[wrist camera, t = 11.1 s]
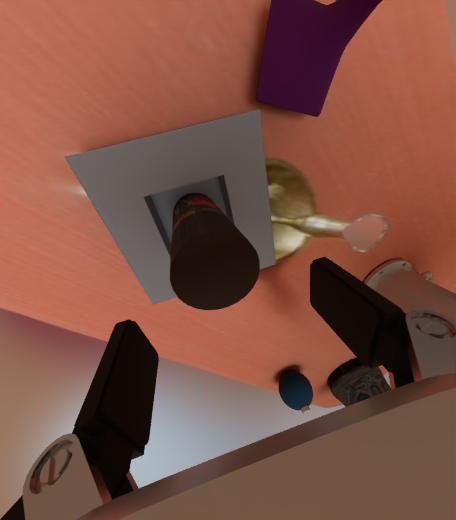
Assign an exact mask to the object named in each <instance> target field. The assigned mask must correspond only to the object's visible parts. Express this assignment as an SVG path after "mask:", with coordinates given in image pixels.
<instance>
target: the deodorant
mask: <svg viewBox="0 0 456 520" xmlns="http://www.w3.org/2000/svg"><path fill="white" fill-rule="evenodd" d="M259 271H260V260H259V257H258V254H257V251H256V250H255V248H254V247H253V246H252V244H251V243H250V242H249V241H248V239H247V238H246V237H245V236H244V235H243V234H242V233H241V232H240V231H239V229H238V228H237V227H236V226H235V225H234V224H233V223H232V222H231V221H230V220H229V218H228V217H227V216H226V215H225V214H224V213H223V212H222V211H221V210H220V208H219V207H218V206H217V205H216V204H215V203H214V202H213V201H212V200H211V199H210V198H209V197H208V196H206V195H204V194H201V193H195V192H194V193H188V194H186V195H184V196H182V197H181V198H180V199H179V200H178V201H177V203H176V204H175V206H174V210H173V223H172V241H171V259H170V283H171V286H172V289H173V291H174V292H175V294H176V295H177V297H178V298H179V299H180V300H182V301H183V302H184V303H186V304H187V305H189V306H192V307H194V308H197V309H203V310H217V309H221V308H225V307H228V306H231V305H233V304H235V303H237V302H238V301H240V300H241V299H242V298H244V297H245V296H246V295H247V294H248V293H249V292H250V291H251V289H252V288H253V287H254V285H255V283H256V281H257V279H258V275H259Z"/></svg>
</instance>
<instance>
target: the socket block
mask: <svg viewBox="0 0 456 520" xmlns="http://www.w3.org/2000/svg"><path fill="white" fill-rule="evenodd" d="M65 159H66V160H67V162H68V164H69V165H70V167H71V169H72V170H73V172H74V174H75V175H76V177H77V179H78V180H79V182H80V184H81V185H82V187H83V189H84V190H85V192H86V194H87V195H88V197H89V199H90V200H91V202H92V204H93V205H94V207H95V209H96V210H97V212H98V214H99V215H100V217H101V219H102V220H103V222H104V224H105V225H106V227H107V229H108V230H109V232H110V234H111V235H112V237H113V239H114V240H115V242H116V244H117V245H118V247H119V249H120V250H121V252H122V254H123V255H124V257H125V259H126V260H127V262H128V264H129V265H130V267H131V269H132V270H133V272H134V274H135V275H136V277H137V279H138V280H139V282H140V284H141V285H142V287H143V289H144V290H145V292H146V294H147V295H148V297H149V299H150V300H151V302H152V304H153V305H154V304H157V303H160V302H163V301H166V300H169V299H172V298H175V297H177V295H176V294H175V292H174V291H173V289H172V286H171V283H170V259H171V241H172V223H173V210H174V206H175V204H176V203H177V201H178V200H179V199H180V198H181V197H182V196H184V195H186V194H188V193H194V192H195V193H201V194H204V195H206V196H208V197H209V198H210V199H211V200H212V201H213V202H214V203H215V204H216V205H217V206H218V207H219V208H220V210H221V211H222V212H223V213H224V214H225V215H226V216H227V217H228V218H229V220H230V221H231V222H232V223H233V224H234V225H235V226H236V227H237V228H238V229H239V231H240V232H241V233H242V234H243V235H244V236H245V237H246V238H247V239H248V241H249V242H250V243H251V244H252V246H253V247H254V248H255V250H256V251H257V254H258V257H259V260H260V269H262V268H266V267H269V266H272V265H275V264H276V262H275V252H274V243H273V233H272V223H271V213H270V203H269V193H268V184H267V174H266V164H265V154H264V144H263V134H262V125H261V115H260V109H258V110H254V111H250V112H245V113H241V114H237V115H233V116H229V117H225V118H221V119H217V120H213V121H209V122H205V123H201V124H197V125H193V126H188V127H184V128H180V129H176V130H172V131H168V132H164V133H160V134H156V135H152V136H148V137H144V138H140V139H136V140H132V141H127V142H123V143H119V144H115V145H111V146H107V147H103V148H99V149H95V150H91V151H87V152H83V153H79V154H75V155H70V156H66V157H65Z"/></svg>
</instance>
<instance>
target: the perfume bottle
mask: <svg viewBox="0 0 456 520" xmlns="http://www.w3.org/2000/svg"><path fill="white" fill-rule="evenodd" d="M381 1H382V0H336V1H335V2H334V3H332V4H329V5H324V4H321V3H319V2H317V1H315V0H271V6H270V12H269V18H268V24H267V31H266V37H265V43H264V49H263V55H262V62H261V68H260V74H259V80H258V87H257V93H256V100H257V101H258V102H262V103H265V104H269V105H273V106H277V107H281V108H284V109H288V110H292V111H296V112H299V113H303V114H307V115H311V116H315V117H318V116H319V115H320V113H321V110H322V107H323V104H324V101H325V99H326V96H327V93H328V90H329V87H330V84H331V82H332V79H333V76H334V74H335V71H336V68H337V66H338V63H339V61H340V58H341V55H342V53H343V51H344V49H345V47H346V46H347V44H348V43H349V41H350V40H351V39H352V37H353V36H354V35H355V33H356V32H357V30H358V29H359V28H360V26H361V25H362V24H363V22H364V21H365V20H366V19H367V18H368V16H369V15H370V14H371V13H372V11H373V10H374V9H375V8H376V6H377V5H378V4H379V3H380V2H381Z"/></svg>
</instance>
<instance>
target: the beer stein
mask: <svg viewBox="0 0 456 520" xmlns="http://www.w3.org/2000/svg"><path fill="white" fill-rule="evenodd" d="M328 385H329V387H330V389H331V392H332V394H333V395H334V396H335V397H336V398H337V399H338V400H339V401H341V402H342V403H343V404H344V405H345V406H346V407H347V406H350V405H353V404H355V403H358V402H360V401H363V400H366V399H368V398H371V397H373V396H376V395H379V394H382V393H385V392H387V391H390V390H391V388H390V386H389V385H388V384H387V382H386V380H385V378H384V376H383V374H382V372H381V370H380V368H379V367H375V368H373V369H371V368H370V367H369V366H368V365H367V364H366V363H363V362H361V361H360V360H359V359H358V358H355V359H351V360H349V361H348V362H346V363H344V364H342V365H340V366H339V367H338V368H337V369H335V370H334V371H333V372H332V374H331V375H330V376H329V378H328Z"/></svg>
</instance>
